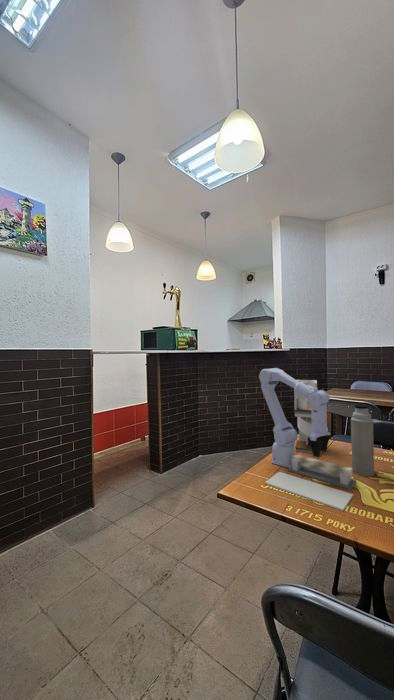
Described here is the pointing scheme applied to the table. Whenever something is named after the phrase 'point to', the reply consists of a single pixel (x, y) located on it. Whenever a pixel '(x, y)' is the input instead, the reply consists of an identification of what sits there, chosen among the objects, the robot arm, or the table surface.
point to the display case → (303, 419)
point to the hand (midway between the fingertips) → (319, 453)
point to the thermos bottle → (362, 441)
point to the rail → (322, 465)
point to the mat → (311, 490)
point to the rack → (322, 475)
